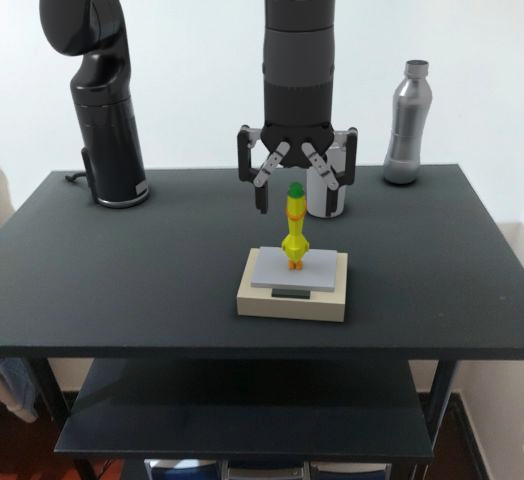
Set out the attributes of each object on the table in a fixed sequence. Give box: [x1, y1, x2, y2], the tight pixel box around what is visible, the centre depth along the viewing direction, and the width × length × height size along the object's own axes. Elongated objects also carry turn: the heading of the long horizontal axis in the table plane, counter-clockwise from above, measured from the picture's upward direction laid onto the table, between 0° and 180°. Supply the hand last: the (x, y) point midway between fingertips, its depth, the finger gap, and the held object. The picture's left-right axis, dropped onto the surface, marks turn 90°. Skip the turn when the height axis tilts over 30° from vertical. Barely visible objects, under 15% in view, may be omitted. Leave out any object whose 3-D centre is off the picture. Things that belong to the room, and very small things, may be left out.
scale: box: [236, 246, 348, 323], centre depth 75 cm, size 14×12×4 cm
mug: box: [306, 142, 347, 219], centre depth 90 cm, size 10×7×12 cm, turn 167°
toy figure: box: [281, 181, 310, 270], centre depth 70 cm, size 7×4×12 cm, turn 174°
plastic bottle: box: [382, 59, 434, 185], centre depth 94 cm, size 6×7×20 cm
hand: (296, 212), depth 68 cm, fingers open, 7 cm apart
